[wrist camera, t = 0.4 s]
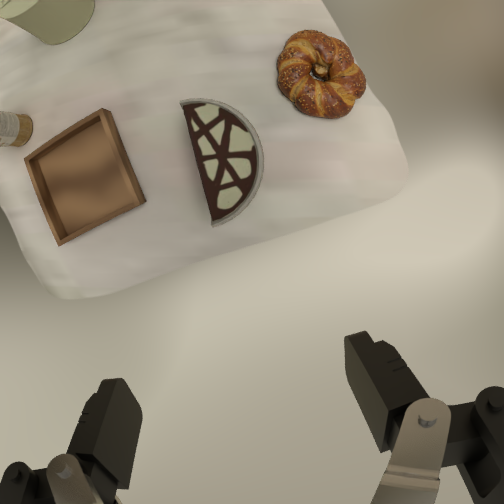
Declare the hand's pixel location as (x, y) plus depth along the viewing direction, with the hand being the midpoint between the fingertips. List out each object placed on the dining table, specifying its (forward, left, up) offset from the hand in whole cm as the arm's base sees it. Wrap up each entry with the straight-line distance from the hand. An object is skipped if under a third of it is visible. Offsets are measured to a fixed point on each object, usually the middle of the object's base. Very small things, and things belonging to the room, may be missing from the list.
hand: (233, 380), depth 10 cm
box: (-12, -14, -28) cm, 34 cm away
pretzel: (-13, +17, -29) cm, 36 cm away
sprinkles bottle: (-23, -21, -29) cm, 42 cm away
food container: (-7, +3, -29) cm, 30 cm away
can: (-36, -10, -29) cm, 47 cm away
